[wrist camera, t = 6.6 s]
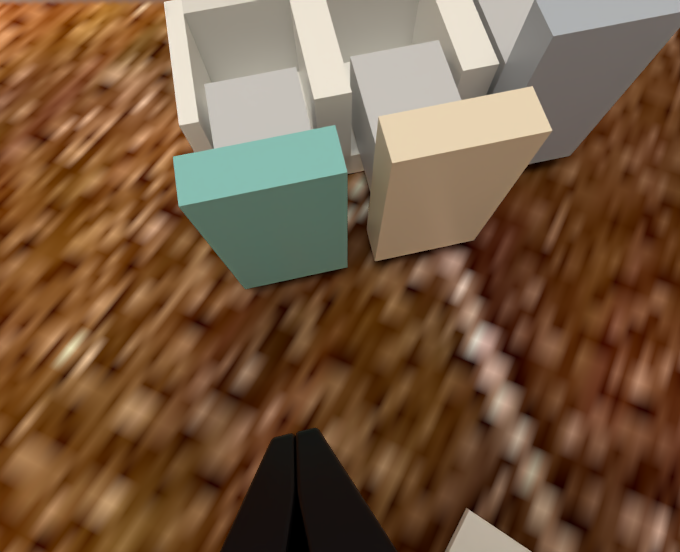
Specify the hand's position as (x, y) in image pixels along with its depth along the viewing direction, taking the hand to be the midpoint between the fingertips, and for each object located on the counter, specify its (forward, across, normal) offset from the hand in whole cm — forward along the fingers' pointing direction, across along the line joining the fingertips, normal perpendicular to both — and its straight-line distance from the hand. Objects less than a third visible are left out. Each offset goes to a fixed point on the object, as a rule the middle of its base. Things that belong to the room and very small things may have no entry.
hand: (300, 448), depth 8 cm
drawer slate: (+15, -11, -2) cm, 19 cm away
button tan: (+13, -6, 0) cm, 14 cm away
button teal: (+13, 0, 0) cm, 13 cm away
